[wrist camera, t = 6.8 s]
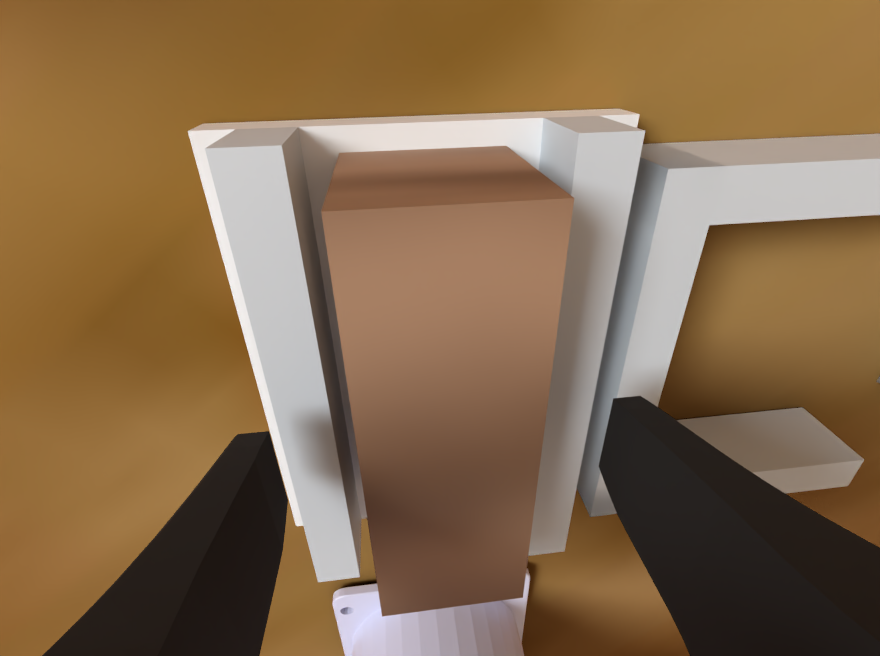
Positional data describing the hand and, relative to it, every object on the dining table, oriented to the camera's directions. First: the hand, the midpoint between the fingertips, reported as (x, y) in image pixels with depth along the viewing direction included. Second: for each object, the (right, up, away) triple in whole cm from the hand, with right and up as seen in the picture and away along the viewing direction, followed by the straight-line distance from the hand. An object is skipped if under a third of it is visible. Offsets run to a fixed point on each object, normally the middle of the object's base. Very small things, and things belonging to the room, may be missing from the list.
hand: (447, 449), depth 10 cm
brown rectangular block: (0, +2, +2) cm, 3 cm away
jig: (+4, +2, +4) cm, 6 cm away
